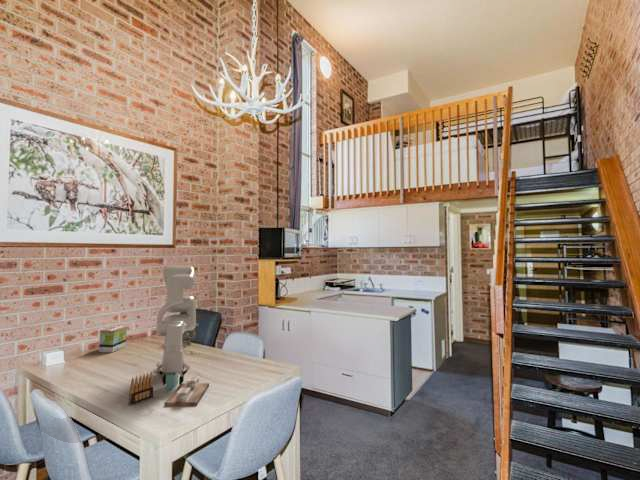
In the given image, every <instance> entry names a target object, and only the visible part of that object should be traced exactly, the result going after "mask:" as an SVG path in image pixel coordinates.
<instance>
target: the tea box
mask: <svg viewBox="0 0 640 480" xmlns="http://www.w3.org/2000/svg"><path fill="white" fill-rule="evenodd" d="M127 331H128V326H127V325H113V326H109V327H106V328H104V329H100V330H99V340H98V341H99V344H98V352H99V353H114V352H116V351H119V350H120V349H123V348H125V347H126V346H127V333H128V332H127Z"/></svg>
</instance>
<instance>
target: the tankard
mask: <svg viewBox="0 0 640 480" xmlns="http://www.w3.org/2000/svg"><path fill="white" fill-rule="evenodd" d="M198 326H199V324H198V323H197V322H196V326H195V327H198ZM190 332H191V337H190V333H189V331H185V332H184V333H183V334H182V345H185V344H188V343H189V342H190V341H194V339H195V338H196V332H195V328H194V329H193V330H190Z"/></svg>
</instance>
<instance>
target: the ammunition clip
mask: <svg viewBox="0 0 640 480" xmlns="http://www.w3.org/2000/svg"><path fill="white" fill-rule="evenodd" d="M128 394H129V397H128V405H129V406H134V405H136V403H137V404H139V403H142V402H144V401H147V400H150V399H152V398H154V378H153V371H150V374H149V373H148V372H147V373H146V375H145V373H143V375H141V374H140V375H139V377H138V376H136V377H135V378H134V377H132V378H131V381H130V389H129V393H128Z"/></svg>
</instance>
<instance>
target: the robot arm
mask: <svg viewBox="0 0 640 480" xmlns="http://www.w3.org/2000/svg"><path fill="white" fill-rule="evenodd" d="M195 273H196V271H195V268H194V267H193V266H192V265H169V266H165V267H163V269H162V278H163V281H164V284H165V287H166V303H165V304H164V305H163V306H162V307H161V308H160V309H159V311H158V314H157V316H156V328H155V329H156V330H155V331H156V334H157V335H158V337H164V338H163V339H164V342H163V343H164V344H163V345H164V346H163V347H162V349H163V355H162V361H161V362H157V363H155V364H156V365H155V366H156V369H155V370H156V371H157V372H158V374H159V375H160V376H161V378H162V379H161V383H162V385H163V386H166V375H167V374H168V373H174V372H178V375H179V376H178V385H181V384H183V383H184V380H185V378H184V377H185V375H186V373H187V372H188V371H189V370H190V369H191V367H190V366H189V365H188V364H187V363H186V362H185V354H184V350H183V344H182V334H183V333H184V332H185V331H188V332H189V331H190V332H191V330H193V329H194V330H195V329H196V327H197V326H196V323H197V303H196V298H195V297H194V296H193V295H184V291H185V290H193V289H194V288H195V285H196V274H195ZM166 312H169V313H182V314H170V315H167V316H165V317H164V315H165V314H166ZM183 313H185V314H183ZM163 318H164V319H163Z"/></svg>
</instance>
